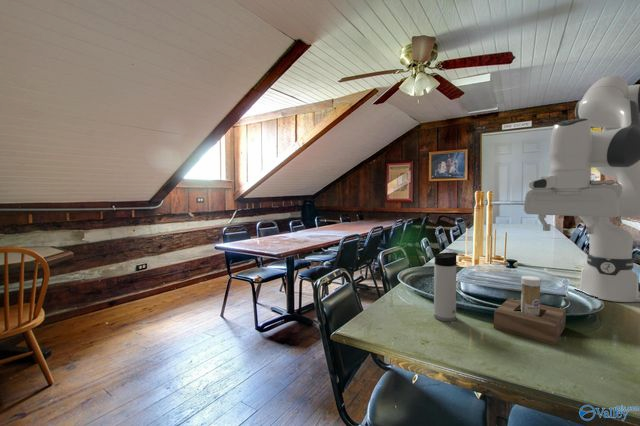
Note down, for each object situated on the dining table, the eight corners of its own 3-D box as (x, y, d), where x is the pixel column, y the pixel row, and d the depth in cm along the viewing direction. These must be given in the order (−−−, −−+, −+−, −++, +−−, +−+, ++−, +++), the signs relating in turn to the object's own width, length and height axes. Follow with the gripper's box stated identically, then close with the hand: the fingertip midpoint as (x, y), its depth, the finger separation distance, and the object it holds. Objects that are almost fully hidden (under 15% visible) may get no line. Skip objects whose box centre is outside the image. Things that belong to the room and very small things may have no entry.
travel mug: (460, 321, 94) (461, 255, 93) (438, 321, 95) (438, 255, 93) (452, 313, 101) (452, 250, 99) (431, 313, 101) (431, 251, 99)
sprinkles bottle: (532, 329, 86) (533, 280, 85) (516, 322, 90) (517, 276, 89) (543, 326, 88) (545, 278, 87) (527, 319, 92) (528, 274, 91)
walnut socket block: (509, 313, 99) (509, 297, 99) (565, 327, 89) (565, 309, 89) (493, 328, 90) (494, 311, 89) (554, 345, 80) (555, 326, 79)
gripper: (623, 179, 80) (620, 233, 81) (528, 181, 95) (527, 227, 96) (621, 180, 76) (618, 237, 77) (522, 182, 90) (521, 230, 92)
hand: (567, 232), depth 87 cm, fingers open, 8 cm apart
